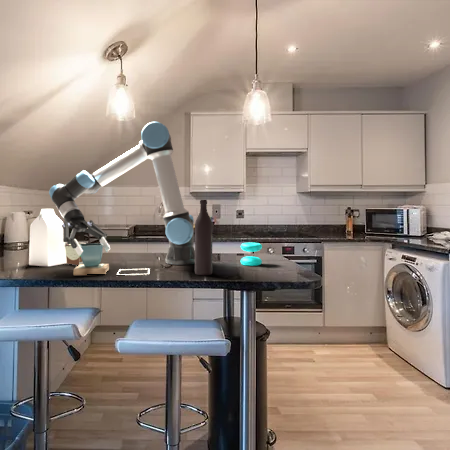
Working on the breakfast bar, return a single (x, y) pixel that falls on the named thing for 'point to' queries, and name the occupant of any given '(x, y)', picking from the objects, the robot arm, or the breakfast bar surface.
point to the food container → (72, 255)
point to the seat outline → (133, 274)
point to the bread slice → (91, 269)
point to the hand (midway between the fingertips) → (95, 251)
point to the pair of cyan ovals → (250, 259)
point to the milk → (46, 240)
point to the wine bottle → (203, 242)
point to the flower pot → (91, 254)
